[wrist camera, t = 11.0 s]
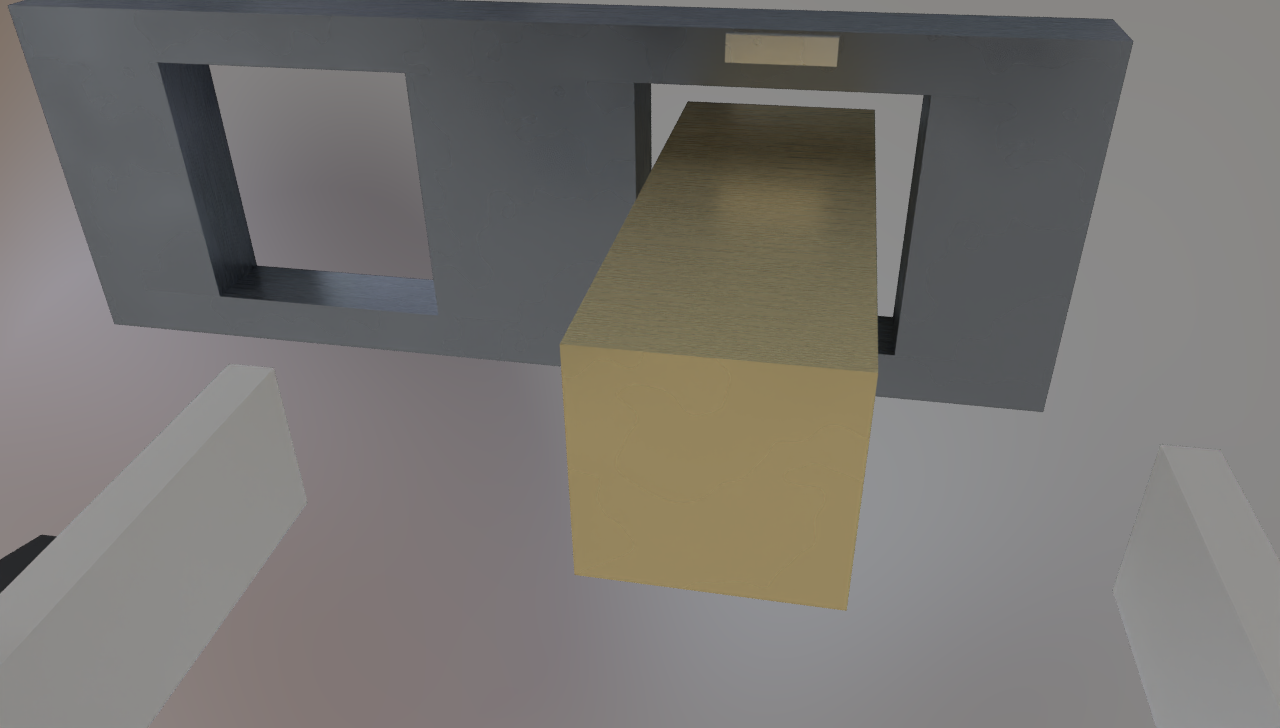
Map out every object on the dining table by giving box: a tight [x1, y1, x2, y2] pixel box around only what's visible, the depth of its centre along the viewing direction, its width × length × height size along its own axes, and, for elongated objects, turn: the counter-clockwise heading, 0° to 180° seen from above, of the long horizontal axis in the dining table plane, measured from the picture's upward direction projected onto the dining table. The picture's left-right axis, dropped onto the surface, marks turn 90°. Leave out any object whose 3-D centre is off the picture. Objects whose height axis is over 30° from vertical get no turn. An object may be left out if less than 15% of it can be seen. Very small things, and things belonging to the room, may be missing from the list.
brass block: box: [560, 101, 878, 611], centre depth 20 cm, size 4×4×12 cm
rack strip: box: [8, 0, 1133, 412], centre depth 25 cm, size 26×9×2 cm, turn 91°
